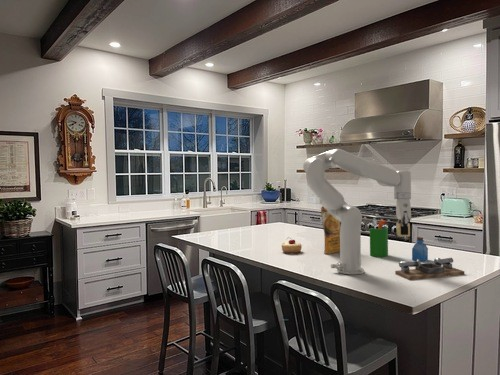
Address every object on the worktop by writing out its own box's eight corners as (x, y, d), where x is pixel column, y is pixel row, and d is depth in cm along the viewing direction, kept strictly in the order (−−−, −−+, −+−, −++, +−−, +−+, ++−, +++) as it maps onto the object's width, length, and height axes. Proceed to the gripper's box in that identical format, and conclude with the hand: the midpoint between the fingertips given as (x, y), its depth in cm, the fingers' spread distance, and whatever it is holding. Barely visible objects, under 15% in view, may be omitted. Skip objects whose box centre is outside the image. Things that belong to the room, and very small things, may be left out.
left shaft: (416, 273, 179) (416, 258, 179) (421, 275, 175) (421, 260, 175) (398, 274, 179) (398, 259, 178) (402, 276, 175) (402, 261, 174)
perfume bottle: (415, 258, 209) (415, 236, 209) (427, 259, 206) (427, 237, 205) (412, 260, 205) (412, 238, 204) (424, 262, 201) (424, 239, 200)
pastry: (300, 255, 224) (300, 240, 223) (280, 254, 226) (280, 239, 225) (302, 250, 235) (302, 236, 234) (282, 249, 238) (282, 235, 237)
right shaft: (441, 274, 178) (441, 258, 177) (433, 271, 181) (433, 257, 181) (454, 271, 181) (454, 256, 181) (447, 269, 185) (447, 255, 185)
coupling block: (409, 236, 183) (409, 222, 183) (398, 236, 184) (398, 222, 183) (407, 234, 188) (407, 221, 188) (396, 234, 189) (396, 221, 188)
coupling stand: (408, 279, 169) (408, 270, 169) (395, 274, 179) (395, 265, 179) (464, 274, 176) (464, 265, 176) (448, 269, 186) (448, 260, 186)
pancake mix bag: (317, 253, 225) (316, 205, 224) (336, 248, 238) (336, 203, 237) (326, 255, 220) (326, 206, 219) (346, 250, 233) (345, 204, 232)
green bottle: (376, 252, 224) (376, 218, 223) (391, 255, 218) (391, 219, 217) (367, 255, 217) (367, 220, 216) (382, 258, 211) (382, 221, 210)
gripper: (415, 197, 176) (416, 236, 177) (406, 194, 193) (406, 230, 194) (398, 197, 177) (399, 237, 178) (390, 195, 194) (391, 230, 195)
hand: (403, 233), depth 186 cm, fingers closed on coupling block, 5 cm apart
